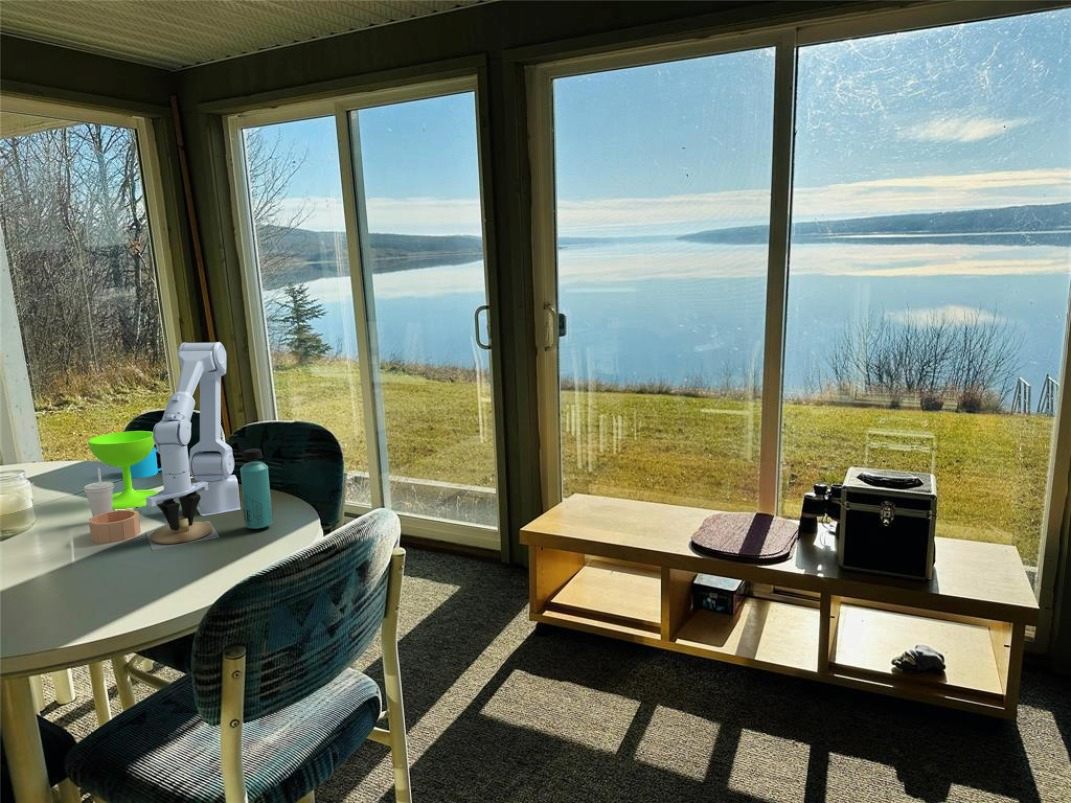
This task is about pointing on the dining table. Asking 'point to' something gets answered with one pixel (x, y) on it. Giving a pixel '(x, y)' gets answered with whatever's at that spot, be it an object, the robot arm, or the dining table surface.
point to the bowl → (114, 526)
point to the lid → (182, 532)
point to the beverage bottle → (256, 491)
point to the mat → (162, 546)
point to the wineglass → (124, 462)
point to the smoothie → (99, 496)
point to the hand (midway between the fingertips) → (181, 527)
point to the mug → (146, 466)
